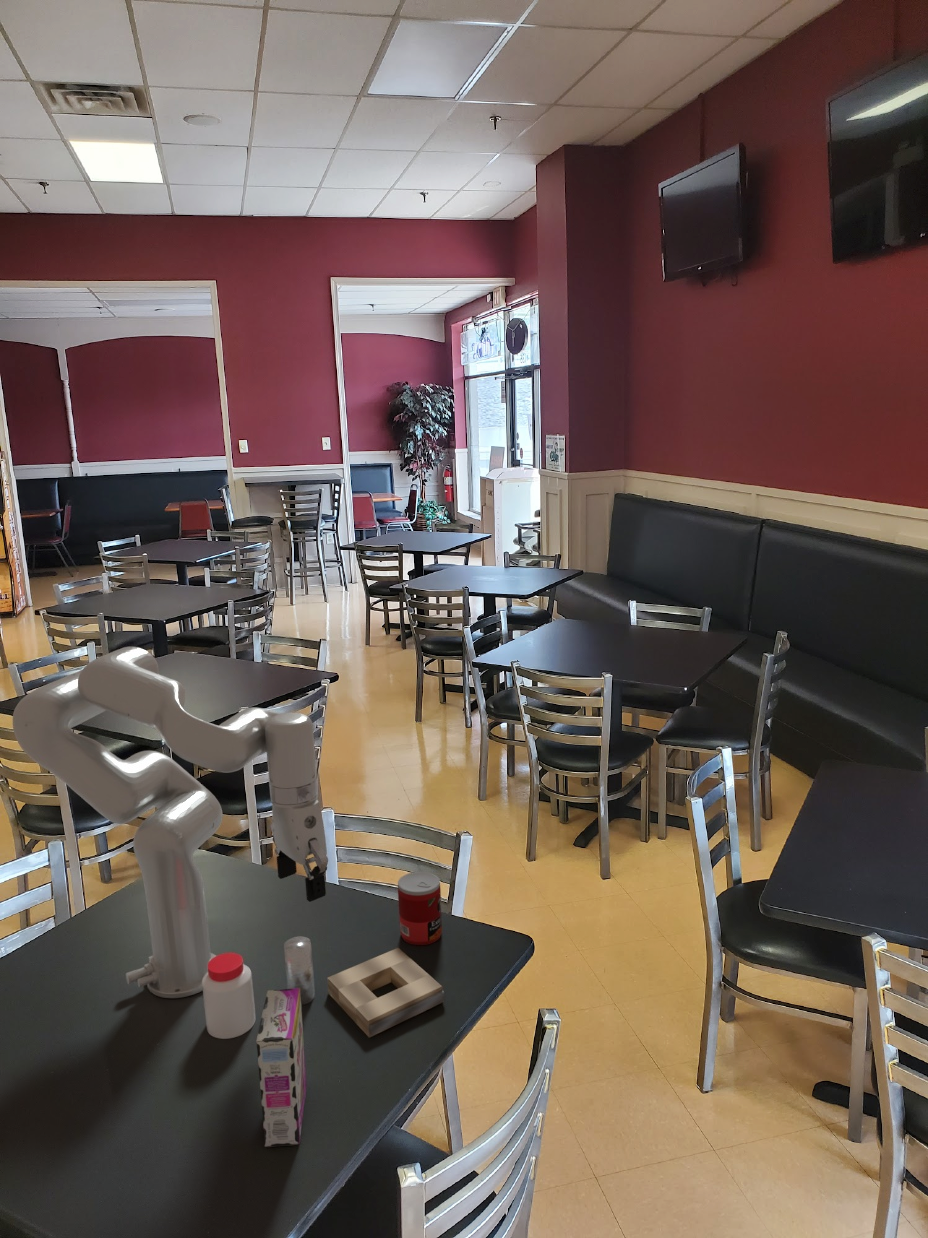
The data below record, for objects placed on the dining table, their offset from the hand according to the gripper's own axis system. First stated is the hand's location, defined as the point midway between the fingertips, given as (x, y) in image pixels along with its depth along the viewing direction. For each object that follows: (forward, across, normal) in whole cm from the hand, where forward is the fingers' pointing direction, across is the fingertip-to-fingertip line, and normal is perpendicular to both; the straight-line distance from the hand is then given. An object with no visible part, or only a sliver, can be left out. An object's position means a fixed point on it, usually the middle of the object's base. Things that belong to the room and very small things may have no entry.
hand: (301, 886), depth 145 cm
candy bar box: (+20, -22, +16) cm, 34 cm away
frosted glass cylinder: (+20, 0, +2) cm, 20 cm away
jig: (+20, -9, -9) cm, 24 cm away
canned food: (+20, +2, -25) cm, 32 cm away
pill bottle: (+20, +2, +13) cm, 24 cm away
